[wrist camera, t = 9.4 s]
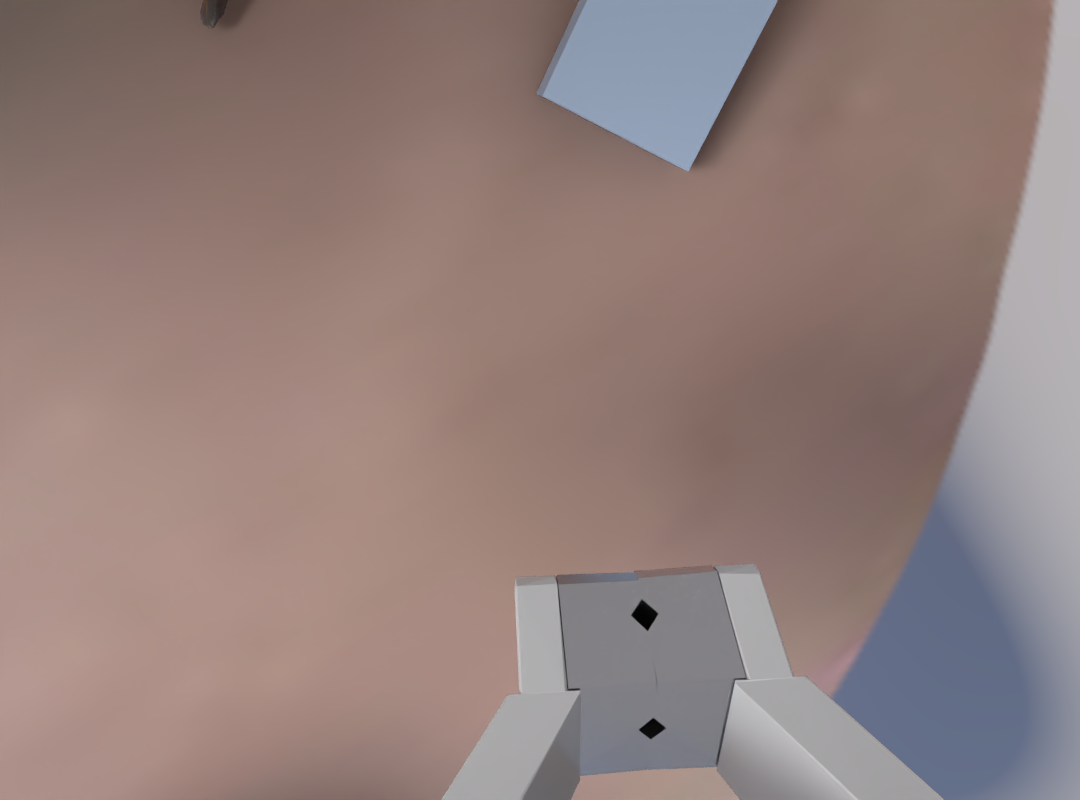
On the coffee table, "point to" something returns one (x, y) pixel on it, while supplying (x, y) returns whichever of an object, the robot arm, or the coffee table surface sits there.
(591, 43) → the domino
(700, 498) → the coffee table surface
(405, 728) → the coffee table surface
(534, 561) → the coffee table surface
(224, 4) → the lion figurine
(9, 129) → the coffee table surface
